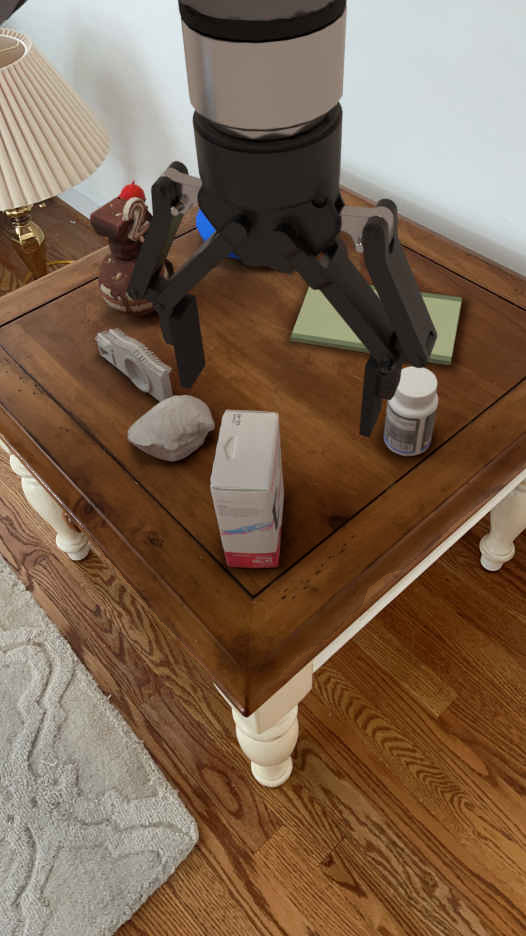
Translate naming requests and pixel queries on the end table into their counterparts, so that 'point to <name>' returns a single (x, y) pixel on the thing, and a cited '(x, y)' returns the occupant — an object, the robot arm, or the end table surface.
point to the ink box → (249, 488)
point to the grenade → (124, 248)
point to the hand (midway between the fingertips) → (278, 398)
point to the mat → (331, 330)
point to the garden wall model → (136, 363)
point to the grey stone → (172, 428)
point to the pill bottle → (411, 412)
